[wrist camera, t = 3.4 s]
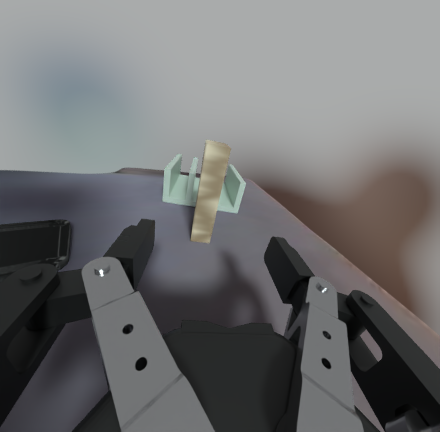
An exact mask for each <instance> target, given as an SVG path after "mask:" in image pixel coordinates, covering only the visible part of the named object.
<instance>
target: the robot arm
mask: <svg viewBox="0 0 440 432" xmlns="http://www.w3.org/2000/svg"><path fill="white" fill-rule="evenodd" d="M154 237H155V220H149V219H141V220H140V222H139V223H138V225H137V226H133V225H131V226H129V227H128V228H126V229H124V230H123V232H122V233H121V234H120V236H119V237H118V238H117V239H116V241H115V242H114V243H113V244H112V246H111V247H110V248H109V250H108V251H107V252H106V253H105V255H104V256H103V257H101V258H97V259H95V260H92V261H91V262H89V263H88V264H86V265H85V266H84V268H83V269H79V270H72V271H64V272H58V271H57V268H56V267H55V266H54V265H51V264H35V265H31V266H27V267H24V268H22V269H20V270H18V271H16V272H14V273H12V274H11V275H10V276H8V277H7V278H6V279H5V280H3V281H2V282H1V283H0V427H1V425H2V424H3V422H4V420H5V419H6V417H7V416H8V414H9V412H10V411H11V409H12V408H13V406H14V405H15V403H16V401H17V400H18V398H19V397H20V395H21V394H22V392H23V390H24V389H25V387H26V386H27V384H28V382H29V381H30V379H31V378H32V376H33V375H34V373H35V371H36V370H37V368H38V367H39V365H40V364H41V362H42V360H43V359H44V357H45V356H46V354H47V353H48V351H49V349H50V348H51V346H52V345H53V343H54V341H55V340H56V338H57V337H58V335H59V334H60V332H61V330H62V329H63V327H64V326H65V324H66V323H69V322H73V321H77V320H81V319H85V318H90V317H91V318H92V323H93V327H94V331H95V335H96V339H97V343H98V347H99V351H100V356H101V360H102V364H103V369H104V373H105V377H106V381H107V385H108V389H109V391H108V393H107V394H106V395H105V396H104V397H103V398H102V399H101V400H100V401H99V402H98V403H97V404H96V406H95V407H94V408H93V409H92V410H91V411H90V412H89V413H88V414H87V415H86V416H85V418H84V419H83V420H82V421H81V422H80V423H79V424H78V425H77V426H76V427H75V428H74V430H73V431H72V432H380V431H379V430H378V429H377V428H376V427H375V426H374V425H373V424H372V423H371V422H370V421H369V420H368V419H367V418H366V417H365V416H364V415H363V413H362V412H361V411H360V410H359V409H358V408H357V407H356V406H355V405H354V401H353V390H352V379H351V372H352V374H353V376H354V377H355V379H356V381H357V383H358V385H359V386H360V388H361V390H362V392H363V393H364V395H365V397H366V399H367V401H368V402H369V404H370V406H371V408H372V410H373V411H374V413H375V415H376V417H377V418H378V420H379V422H380V424H381V426H382V427H383V429H384V431H385V432H440V369H439V368H438V367H437V366H436V365H435V364H434V362H433V361H432V360H431V359H430V358H429V357H428V356H427V355H426V354H425V353H424V352H423V351H422V350H421V349H420V348H419V346H418V345H417V344H416V343H415V342H414V341H413V340H412V339H411V338H410V337H409V336H408V335H407V334H406V333H405V331H404V330H403V329H402V328H401V327H400V326H399V325H398V324H397V323H396V322H395V321H394V320H393V319H392V318H391V316H390V315H389V314H388V313H387V312H386V311H385V310H384V309H383V308H382V307H381V306H380V305H379V304H378V303H377V302H376V301H375V300H374V299H373V298H372V297H370V296H369V295H367V294H365V293H363V292H361V291H358V290H353V291H352V292H351V293H350V294H349V295H348V296H347V295H344V294H341V293H338V292H336V290H335V288H334V287H333V286H332V285H331V284H330V283H329V282H327V281H326V280H324V279H322V278H320V277H315V275H314V274H313V273H312V271H311V270H310V269H309V267H308V266H307V265H306V263H305V262H304V261H303V259H302V258H301V257H300V255H299V254H298V252H297V251H296V250H295V249H294V248H292V247H291V246H290V245H289V244H288V243H287V241H286V240H285V239H284V238H281V237H272V238H271V240H270V242H269V245H268V247H267V249H266V252H265V255H264V261H265V264H266V266H267V268H268V270H269V273H270V275H271V277H272V279H273V282H274V284H275V286H276V288H277V291H278V293H279V295H280V297H281V300H282V302H283V303H284V304H292V308H291V310H290V313H289V317H288V321H287V325H286V329H285V332H284V336H282V335H280V334H278V333H275V332H274V331H273V328H272V325H271V324H266V323H249V324H245V325H241V326H237V327H234V328H226V327H223V326H220V325H217V324H213V323H210V322H207V321H191V320H182V325H181V328H179V329H175V330H173V331H170V332H168V333H167V334H165V335H163V336H161V334H160V332H159V330H158V328H157V326H156V324H155V322H154V320H153V318H152V316H151V314H150V312H149V310H148V308H147V306H146V304H145V302H144V300H143V298H142V296H141V294H140V293H139V291H135V290H136V288H137V285H138V283H139V280H140V278H141V276H142V273H143V271H144V269H145V266H146V264H147V261H148V259H149V257H150V254H151V252H152V250H153V246H154ZM366 329H367V331H368V332H369V333H370V335H371V336H372V337H373V339H374V340H375V341H376V343H377V344H378V345H379V347H380V349H381V351H382V359H381V360H380V361H379V362H378V361H377V360H376V358H375V357H374V356H373V354H372V353H371V351H370V350H369V348H368V347H367V346H366V344H365V343H364V341H363V340H362V338H361V337H360V335H361V334H362V333H363V332H364V331H365V330H366Z"/></svg>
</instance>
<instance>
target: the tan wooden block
mask: <svg viewBox="0 0 440 432" xmlns="http://www.w3.org/2000/svg"><path fill="white" fill-rule="evenodd" d="M230 150H231V148H230V147H229V146H228V145H226V144H224V143H220V142H216V141H211V140H206V143H205V149H204V155H203V161H202V168H201V174H200V180H199V186H198V193H197V199H196V205H195V212H194V218H193V225H192V233H191V241H195V242H204V243H210V239H211V234H212V230H213V225H214V221H215V217H216V212H217V208H218V203H219V199H220V195H221V190H222V186H223V181H224V177H225V172H226V167H227V164H228V159H229V155H230Z"/></svg>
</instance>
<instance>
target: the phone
mask: <svg viewBox="0 0 440 432" xmlns="http://www.w3.org/2000/svg"><path fill="white" fill-rule="evenodd" d="M70 237H71V226H70V222H69V221H67V220H48V221H37V222H25V223H13V224H1V225H0V283H1V282H2V281H3V280H5V279H6V278H7V277H8V276H10V275H11V274H12V273H14V272H16V271H18V270H20V269H22V268H24V267H27V266H31V265H35V264H51V265H54V266H55V267H56V268H57V271H58V270H60V269H62V268H63V267H64V266H65V265H66V264H67V263H68V260H69V249H70Z"/></svg>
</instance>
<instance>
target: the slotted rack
mask: <svg viewBox="0 0 440 432" xmlns="http://www.w3.org/2000/svg"><path fill="white" fill-rule="evenodd" d="M181 161H182V155H181V154H177V156H176V157H175V158H174V159H173V160H172V161H171V162H170V163H169V164H168V165H167V166H166V167H165V170H164V186H163V202H168V203H174V204H180V205H187V206H193V207H195V205H196V199H197V193H198V186H199V180H200V178H196V170H197V163H198V158H195V157H194V160H193V163H192V166H191V169H190V172H189V176H185V175H180V170H181ZM223 182H224V181H223ZM245 185H246V183H245V182H244V180H243V179H242V177H241V176H240V175H239V173H238V172H237V170H236V169H235V168H234V167H233V165H229V167H228V171H227V175H226V179H225V183H223V186H222V190H221V195H220V199H219V203H218V208H217V210H219V211H225V212H232V213H238V210H239V206H240V203H241V199H242V196H243V192H244V189H245Z"/></svg>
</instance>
